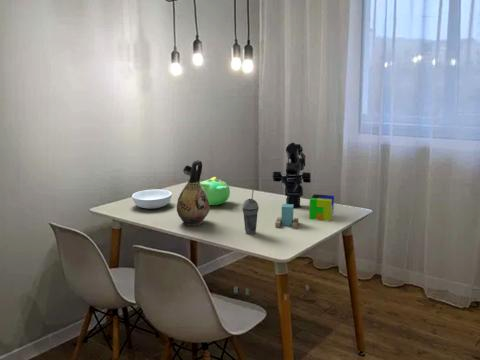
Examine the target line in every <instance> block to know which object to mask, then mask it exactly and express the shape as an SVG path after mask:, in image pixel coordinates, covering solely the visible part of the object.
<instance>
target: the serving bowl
mask: <svg viewBox="0 0 480 360" xmlns="http://www.w3.org/2000/svg"><path fill="white" fill-rule="evenodd" d="M172 194H173V193H172V192H171V191H169V190H166V189H145V190H139V191H136V192H134V193H133V194H132V195H131V197H132V201H133V203H134V204H135V205H136V206H137V207H139V208H142V209H149V210H151V209H152V210H154V209H159V208H162V207H165V206H167V205H168V204H169V203H170V202H171V199H172Z"/></svg>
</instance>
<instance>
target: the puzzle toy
mask: <svg viewBox="0 0 480 360" xmlns="http://www.w3.org/2000/svg"><path fill="white" fill-rule="evenodd" d="M334 202H335V196H334V195H327V194H316V193H315V194H313V195H312V196H311V197H310V199H309V220H313V219H318V220H317V221H324V220H330V221H332V219H331V218H333V217H334V208H335V207H334V205H335V203H334ZM332 216H333V217H332Z"/></svg>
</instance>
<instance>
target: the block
mask: <svg viewBox="0 0 480 360" xmlns="http://www.w3.org/2000/svg"><path fill="white" fill-rule="evenodd" d="M293 206H294V204H286V203H283V204H281V217H282V223H281V226H283V227H284V226H288V227H292V223H293V220H294V208H293Z"/></svg>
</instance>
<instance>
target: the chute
mask: <svg viewBox="0 0 480 360" xmlns="http://www.w3.org/2000/svg"><path fill="white" fill-rule="evenodd" d="M281 223H282V216H278V217H277V218H276V221H275V228H279V229H280V228H281V226H282V225H281ZM298 225H299V217H293V223H292V226H291V228H292V229H293V228H298Z"/></svg>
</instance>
